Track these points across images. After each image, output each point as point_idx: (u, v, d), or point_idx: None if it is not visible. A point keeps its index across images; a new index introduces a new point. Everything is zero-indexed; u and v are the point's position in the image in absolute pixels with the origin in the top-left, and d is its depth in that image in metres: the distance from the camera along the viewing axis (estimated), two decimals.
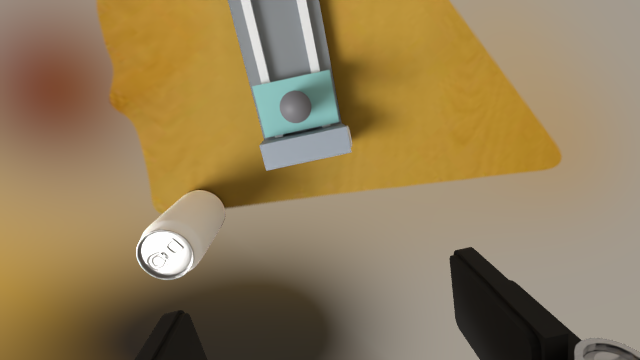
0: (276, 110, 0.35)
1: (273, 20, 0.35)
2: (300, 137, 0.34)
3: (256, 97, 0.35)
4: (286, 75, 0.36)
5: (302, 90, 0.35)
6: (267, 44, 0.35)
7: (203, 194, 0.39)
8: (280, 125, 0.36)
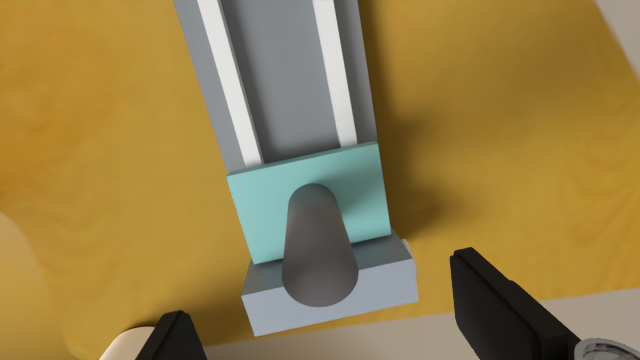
0: (275, 218, 0.19)
1: (267, 45, 0.18)
2: None
3: (235, 196, 0.18)
4: (292, 146, 0.19)
5: (324, 182, 0.18)
6: (256, 91, 0.18)
7: None
8: (281, 243, 0.19)
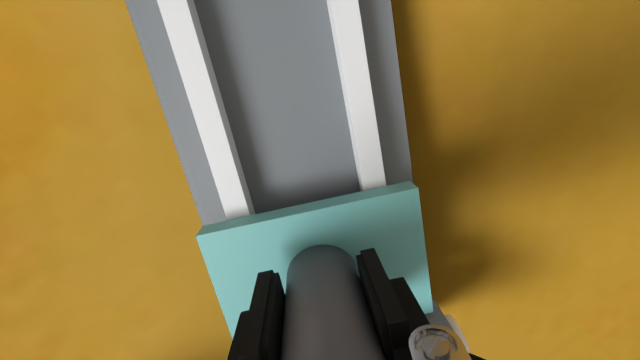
0: None
1: (257, 45, 0.12)
2: None
3: (209, 263, 0.12)
4: (293, 187, 0.14)
5: (339, 242, 0.12)
6: (241, 110, 0.13)
7: None
8: None
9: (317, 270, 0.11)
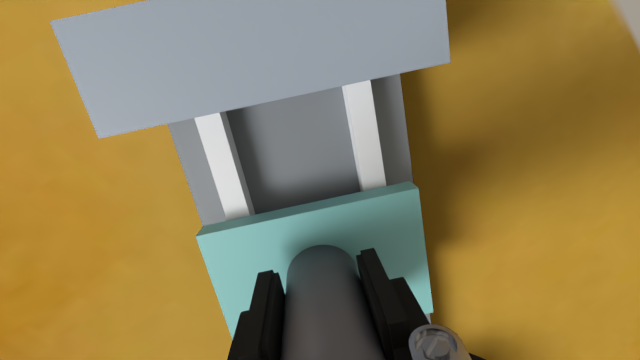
0: None
1: None
2: None
3: (209, 263, 0.12)
4: None
5: (339, 242, 0.12)
6: None
7: None
8: None
9: (317, 270, 0.11)
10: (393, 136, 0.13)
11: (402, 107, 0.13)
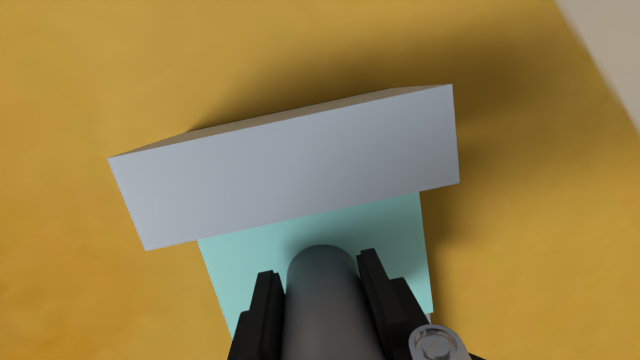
0: None
1: None
2: None
3: (209, 263, 0.12)
4: None
5: (339, 242, 0.12)
6: None
7: None
8: None
9: (317, 270, 0.11)
10: None
11: None
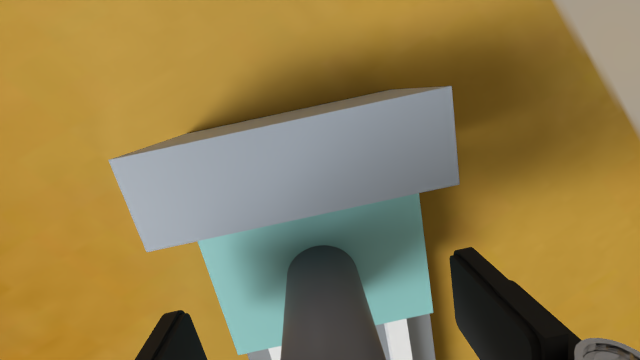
0: (268, 292, 0.13)
1: None
2: None
3: (210, 264, 0.12)
4: None
5: (339, 243, 0.12)
6: None
7: None
8: (278, 326, 0.13)
9: (317, 271, 0.11)
10: None
11: None
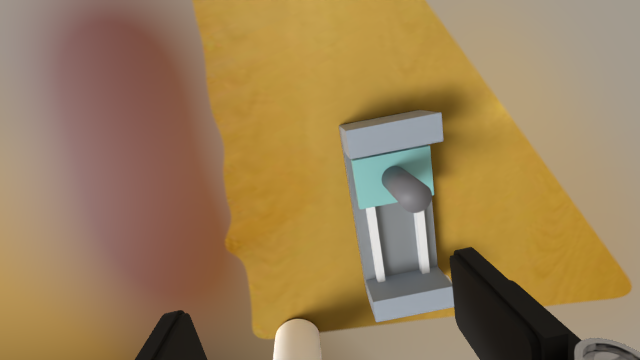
0: (374, 183, 0.35)
1: None
2: (410, 295, 0.37)
3: (355, 171, 0.35)
4: (392, 228, 0.39)
5: (401, 165, 0.35)
6: None
7: (305, 327, 0.42)
8: (376, 197, 0.36)
9: (397, 170, 0.33)
10: None
11: None
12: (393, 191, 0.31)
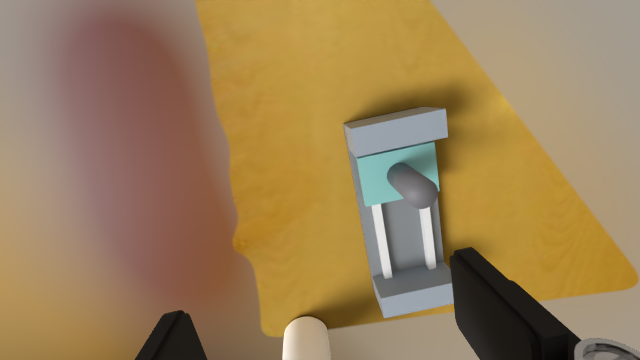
0: (379, 181, 0.35)
1: None
2: (418, 291, 0.37)
3: (361, 169, 0.35)
4: (398, 224, 0.39)
5: (406, 161, 0.35)
6: None
7: (313, 324, 0.42)
8: (381, 195, 0.36)
9: (402, 166, 0.33)
10: None
11: None
12: (399, 188, 0.31)
